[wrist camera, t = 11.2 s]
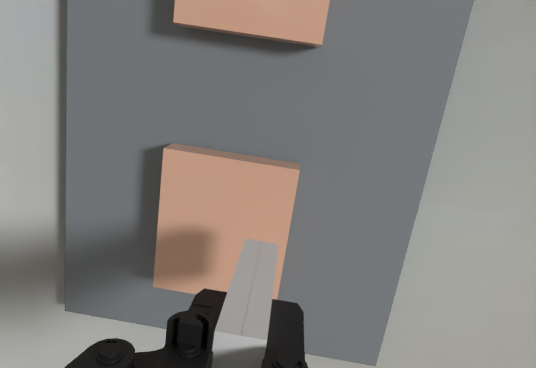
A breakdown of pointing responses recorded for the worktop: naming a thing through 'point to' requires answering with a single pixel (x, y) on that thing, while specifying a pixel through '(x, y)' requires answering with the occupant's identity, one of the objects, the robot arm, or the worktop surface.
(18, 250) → the worktop surface
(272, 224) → the tile
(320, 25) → the tile
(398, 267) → the mat
